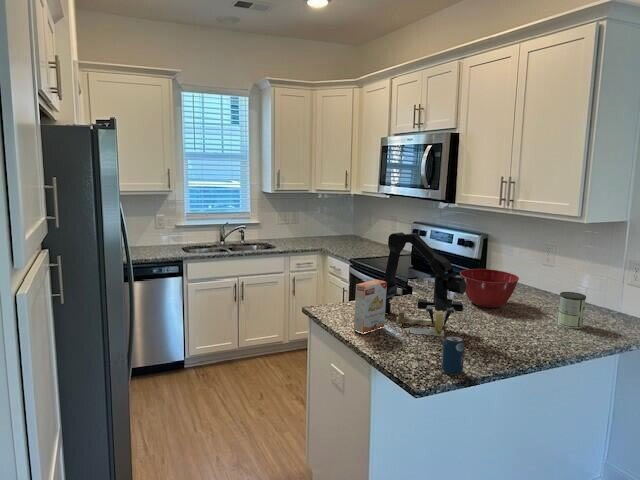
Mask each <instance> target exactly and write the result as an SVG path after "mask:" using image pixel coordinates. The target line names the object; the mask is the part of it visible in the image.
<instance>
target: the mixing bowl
mask: <svg viewBox="0 0 640 480" xmlns="http://www.w3.org/2000/svg"><path fill="white" fill-rule="evenodd" d="M459 275H460V277H463V278H464V281H465V282H466V285H467V287H466V291H465V292H464V294H465V295H466V297H467V298H468V300H469V301H470V302H471V303H473V305H475V304H476V306H478V307H481V306H482V308H490V309H494V308H499V307H502V306H503V305H505V304H506V303H507V302H508V301H509V300H510V298H511V297H512V295H513V293H514V291H515V289H516V287H517V284H518V282H519V280H520V277H519V276H518V275H517V274H514V273H512V272H507V271H503V270H497V269H488V268H471V269H464V270H461V271H460V272H459Z"/></svg>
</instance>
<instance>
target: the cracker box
mask: <svg viewBox="0 0 640 480" xmlns="http://www.w3.org/2000/svg"><path fill="white" fill-rule="evenodd" d="M386 290H387V282H385V281H383V280H381V279H373V280H370V281H365V282H360V283H357V284H355V298H354V317H353V318H354V319H353V320H354V322H353V331H354V330H357V331H360V332H363V333H364V332H368V331H371V330H374V329H377V328H380V327H384V328H385V321H386V320H385V318H386V315H385V306H386Z"/></svg>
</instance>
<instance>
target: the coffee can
mask: <svg viewBox="0 0 640 480" xmlns="http://www.w3.org/2000/svg"><path fill="white" fill-rule="evenodd" d="M586 299H587V296H586V295H585V294H583V293H581V292H580V293H579V292H574V291H562V292H560V293H559V303H558V304H559V305H558V312H557V313H558V314H557V325H559V326H561V327H563V328H569V329H582V328H583V327H584V317H585V307H586Z"/></svg>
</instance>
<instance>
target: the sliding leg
mask: <svg viewBox="0 0 640 480" xmlns="http://www.w3.org/2000/svg"><path fill="white" fill-rule="evenodd" d="M443 312H444V311H442V312H441V311H435V314H434V315H435V316H434V319H435V326H434V329H436V330H438V331H440V330H443V327H442V325H443V326H444V313H443Z"/></svg>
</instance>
